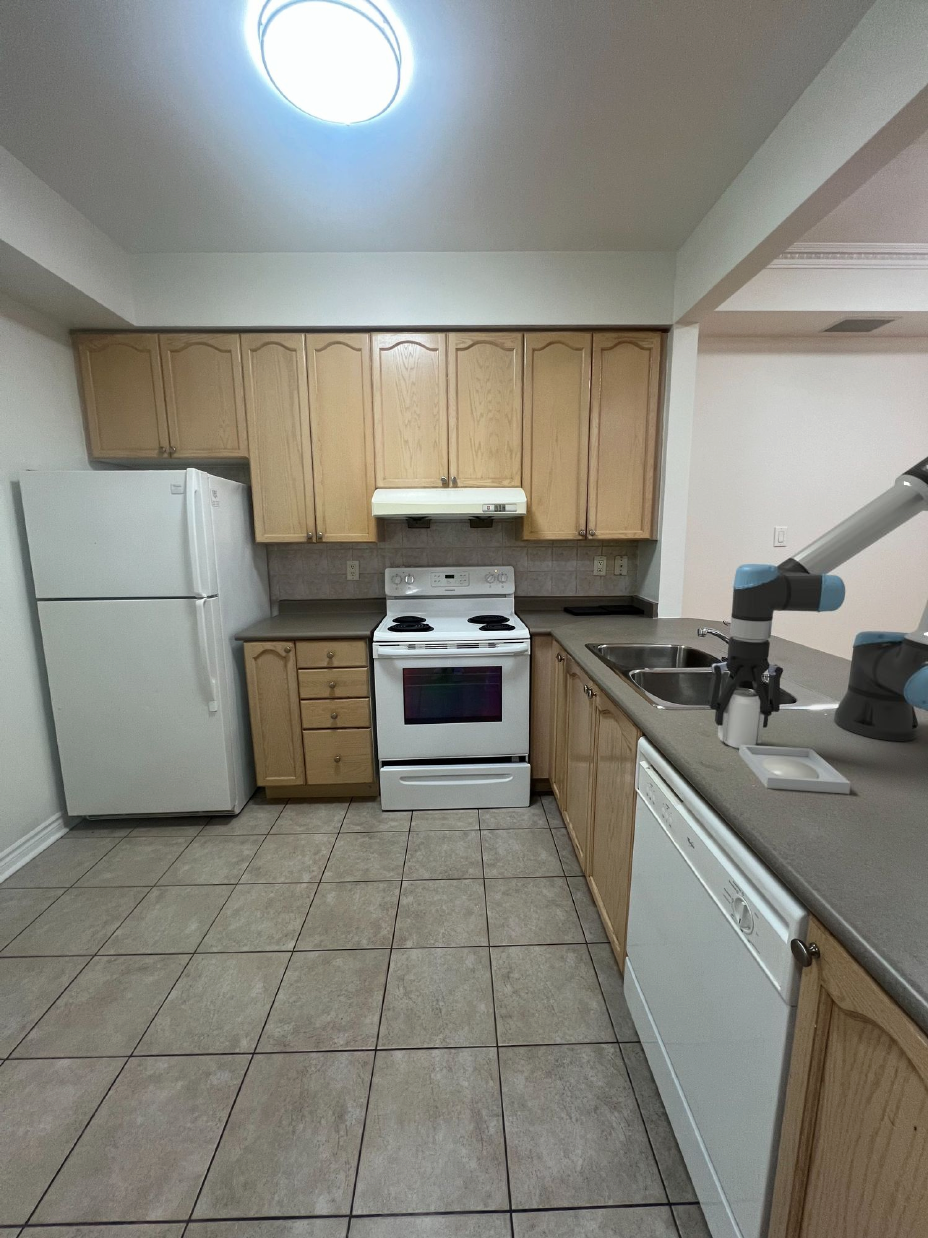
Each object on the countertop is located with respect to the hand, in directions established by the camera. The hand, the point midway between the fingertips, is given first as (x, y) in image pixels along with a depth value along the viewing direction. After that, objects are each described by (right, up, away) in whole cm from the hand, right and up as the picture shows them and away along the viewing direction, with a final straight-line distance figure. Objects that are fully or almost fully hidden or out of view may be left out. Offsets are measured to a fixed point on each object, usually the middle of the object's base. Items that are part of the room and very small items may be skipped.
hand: (739, 739), depth 107 cm
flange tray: (+3, -3, -12) cm, 13 cm away
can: (0, -1, 0) cm, 1 cm away
